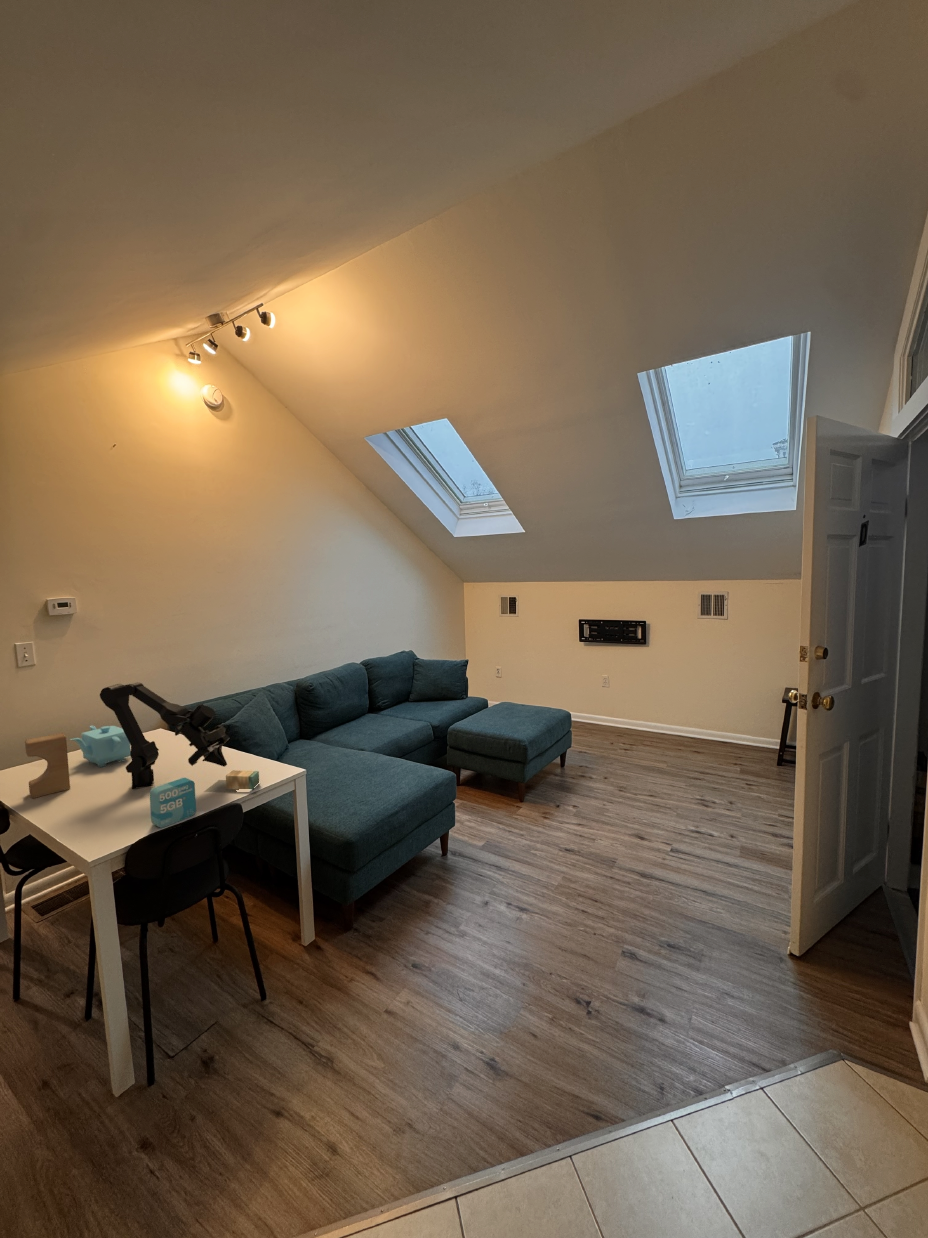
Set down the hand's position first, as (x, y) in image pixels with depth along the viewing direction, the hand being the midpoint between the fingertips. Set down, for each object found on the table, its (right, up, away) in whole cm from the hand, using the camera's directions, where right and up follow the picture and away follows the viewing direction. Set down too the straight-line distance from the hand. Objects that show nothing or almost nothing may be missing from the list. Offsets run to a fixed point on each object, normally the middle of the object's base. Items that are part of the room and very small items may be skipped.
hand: (225, 765), depth 188 cm
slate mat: (+3, -8, +1) cm, 9 cm away
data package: (-6, -11, -23) cm, 26 cm away
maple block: (+1, -5, 0) cm, 5 cm away
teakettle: (-62, -6, +26) cm, 68 cm away
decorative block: (-62, -9, -3) cm, 63 cm away
